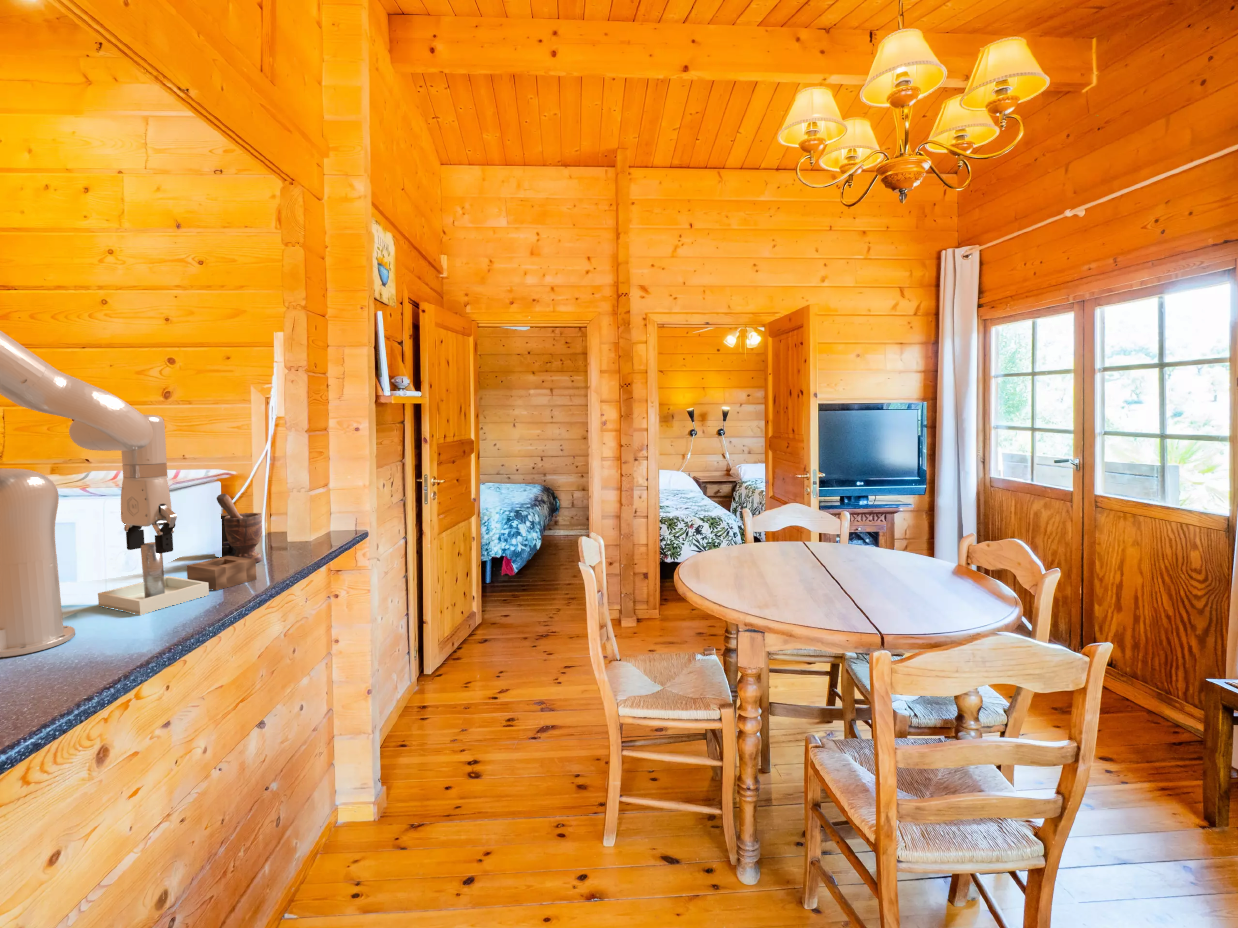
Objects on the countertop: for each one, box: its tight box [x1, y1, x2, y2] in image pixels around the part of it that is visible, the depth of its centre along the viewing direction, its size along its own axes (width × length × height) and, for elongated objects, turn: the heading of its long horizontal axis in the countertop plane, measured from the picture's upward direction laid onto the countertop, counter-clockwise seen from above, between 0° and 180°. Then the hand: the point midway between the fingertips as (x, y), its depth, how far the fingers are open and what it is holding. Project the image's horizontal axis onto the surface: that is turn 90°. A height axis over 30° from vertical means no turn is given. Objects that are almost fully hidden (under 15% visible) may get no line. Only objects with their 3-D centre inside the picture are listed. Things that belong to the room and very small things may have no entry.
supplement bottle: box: [220, 512, 236, 557], centre depth 172 cm, size 7×7×12 cm
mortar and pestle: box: [216, 493, 263, 563], centre depth 162 cm, size 12×9×20 cm
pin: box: [140, 541, 165, 598], centre depth 131 cm, size 4×4×12 cm
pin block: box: [186, 556, 257, 591], centre depth 145 cm, size 10×10×5 cm
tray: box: [97, 575, 210, 616], centre depth 131 cm, size 14×14×3 cm
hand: (150, 550), depth 130 cm, fingers open, 9 cm apart
